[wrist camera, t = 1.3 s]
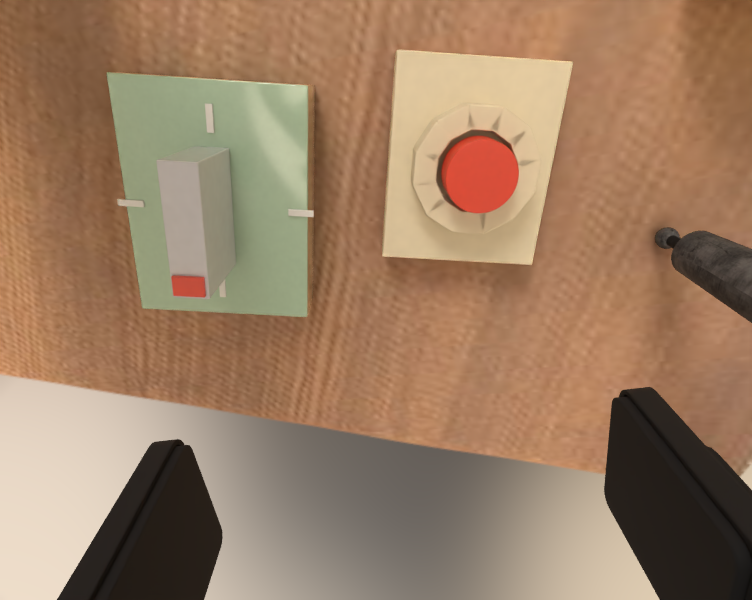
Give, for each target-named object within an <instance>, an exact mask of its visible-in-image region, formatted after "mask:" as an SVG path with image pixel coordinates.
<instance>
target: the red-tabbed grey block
mask: <svg viewBox="0 0 752 600" xmlns="http://www.w3.org/2000/svg"><path fill="white" fill-rule="evenodd" d="M156 163H157V171H158V179H159V187H160V195H161V204H162V212H163V220H164V228H165V236H166V245H167V253H168V261H169V269H170V277H171V286H172V294H173V297H177V298H196V299H210V298H211V297H212V295H213V294H214V293H215V291H216V290H217V289H218V287H219V286H220V285H221V283H222V282H223V281H224V279H225V278H226V277H227V275H228V274H229V273H230V272H231V270H232V269H233V268H234V266H235V265H236V252H235V236H234V219H233V203H232V187H231V170H230V154H229V148H222V147H206V146H194V147H191V148H188V149H186V150H183V151H180V152H177V153H175V154H172V155H169V156H166V157H164V158H161V159H158V160H156Z"/></svg>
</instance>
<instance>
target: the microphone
mask: <svg viewBox="0 0 752 600" xmlns="http://www.w3.org/2000/svg"><path fill="white" fill-rule="evenodd" d="M655 242H656V244H657V245H658V246H659V247H661V248H664V249H669V248H673V251H672V255H671V261H672V265H673V267H674V268H675V269H676V270H677V271H678V272H680V273H681V274H683V275H684V276H685V277H687V278H688V279H690V280H691V281H693V282H694V283H695V284H697V285H698V286H700V287H701V288H703V289H704V290H705V291H707V292H708V293H710V294H711V295H713V296H714V297H715V298H717V299H718V300H720V301H721V302H723V303H724V304H726V305H727V306H728V307H730V308H731V309H733V310H734V311H736V312H737V313H738V314H740V315H741V316H743V317H744V318H746V319H747V320H748V321H750V322H751V323H752V249H750V248H748V247H745V246H743V245H740V244H737V243H735V242H732V241H730V240H727V239H725V238H722V237H720V236H717V235H715V234H712V233H710V232H706V231H695V232H692V233H689V234H687V235H685V236H684V237H683V238H680V237H679V233H678V232H677V231H676V230H675V229H673V228H669V227H667V228H663V229H661V230H659V231H658V232H657V233H656V235H655Z"/></svg>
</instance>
